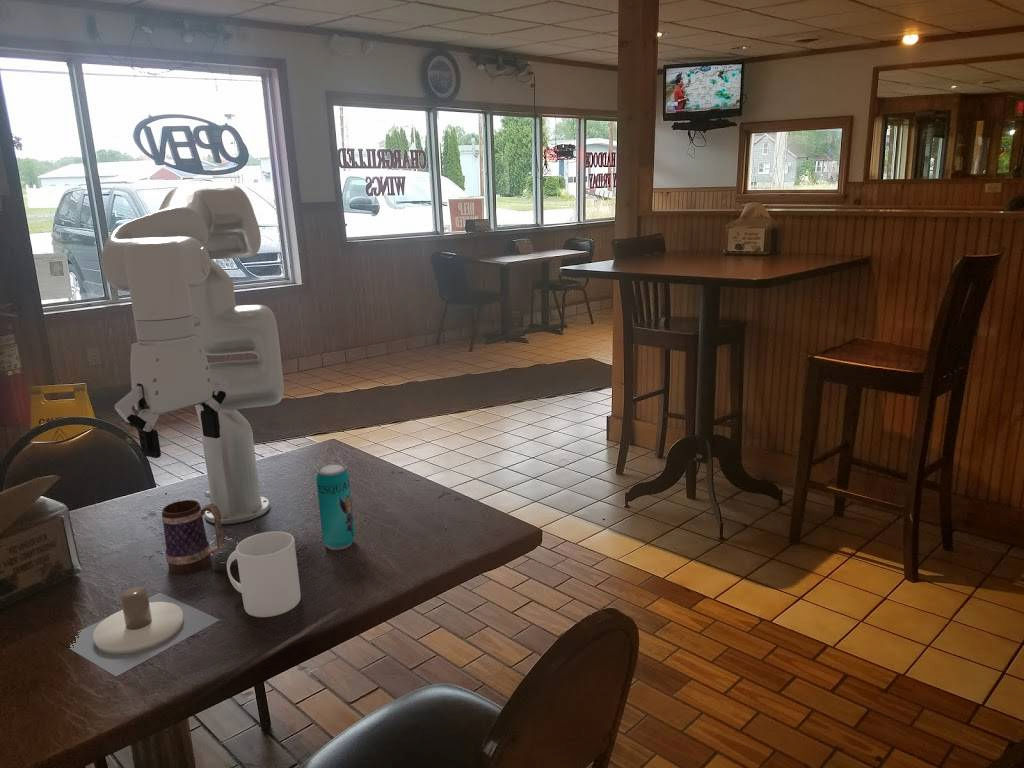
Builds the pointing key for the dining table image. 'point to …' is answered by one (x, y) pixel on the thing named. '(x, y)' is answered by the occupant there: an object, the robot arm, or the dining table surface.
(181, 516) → the mug
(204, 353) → the robot arm
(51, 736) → the dining table surface
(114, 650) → the lid
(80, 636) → the mat
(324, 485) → the beverage can
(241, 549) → the mug
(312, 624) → the dining table surface
